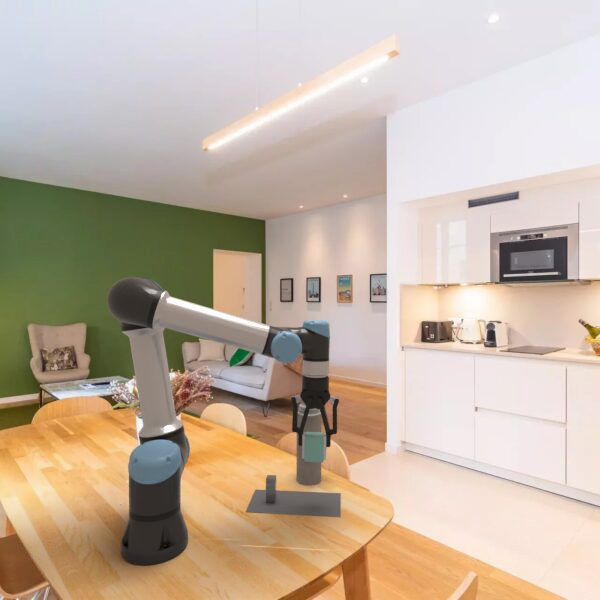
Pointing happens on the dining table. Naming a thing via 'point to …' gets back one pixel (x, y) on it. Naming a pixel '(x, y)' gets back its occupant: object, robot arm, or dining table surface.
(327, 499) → the mat
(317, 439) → the teal rectangular block
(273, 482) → the post
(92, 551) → the dining table surface
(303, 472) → the thermos bottle
